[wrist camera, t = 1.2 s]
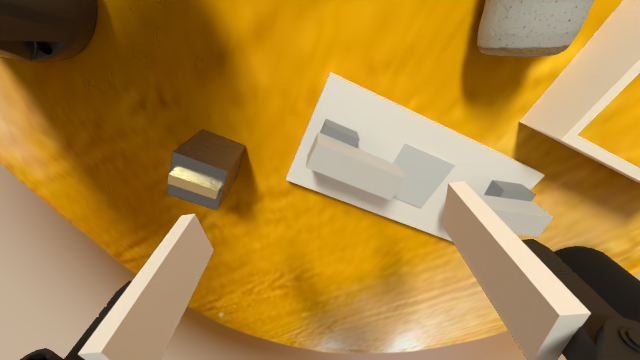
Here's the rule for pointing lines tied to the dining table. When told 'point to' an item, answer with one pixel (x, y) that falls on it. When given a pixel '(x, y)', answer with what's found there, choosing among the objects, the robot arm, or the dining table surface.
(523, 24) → the ceramic mug
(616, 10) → the tray
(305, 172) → the white base plate
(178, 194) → the dark grey block
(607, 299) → the coffee jar
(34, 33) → the robot arm
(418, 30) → the dining table surface
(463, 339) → the dining table surface
